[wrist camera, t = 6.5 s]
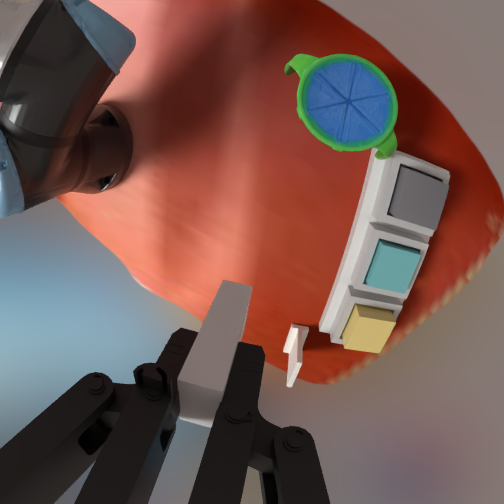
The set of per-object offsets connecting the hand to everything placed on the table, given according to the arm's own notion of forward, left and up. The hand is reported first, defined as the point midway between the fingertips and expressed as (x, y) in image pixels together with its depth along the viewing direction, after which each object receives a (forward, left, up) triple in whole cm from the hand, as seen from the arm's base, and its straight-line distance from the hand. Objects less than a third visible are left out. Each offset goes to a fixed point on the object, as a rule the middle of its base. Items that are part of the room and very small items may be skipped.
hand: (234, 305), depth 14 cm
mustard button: (+18, -14, -23) cm, 32 cm away
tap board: (+18, -4, -26) cm, 32 cm away
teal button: (+18, -4, -24) cm, 30 cm away
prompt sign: (+9, -23, -26) cm, 36 cm away
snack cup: (+6, +14, -26) cm, 30 cm away
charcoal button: (+18, +6, -23) cm, 29 cm away
